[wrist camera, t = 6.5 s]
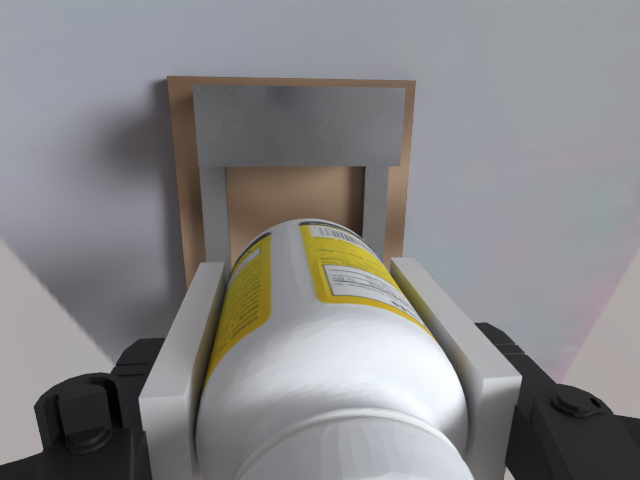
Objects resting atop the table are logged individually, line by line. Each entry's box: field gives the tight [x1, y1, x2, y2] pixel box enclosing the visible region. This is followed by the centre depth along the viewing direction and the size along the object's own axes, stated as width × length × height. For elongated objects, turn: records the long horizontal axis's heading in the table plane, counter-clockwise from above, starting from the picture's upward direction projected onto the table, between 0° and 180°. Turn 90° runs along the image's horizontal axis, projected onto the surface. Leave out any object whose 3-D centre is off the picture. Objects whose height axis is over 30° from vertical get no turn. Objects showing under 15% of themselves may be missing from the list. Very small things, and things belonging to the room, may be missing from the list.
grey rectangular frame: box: [192, 84, 406, 287], centre depth 20 cm, size 13×9×5 cm
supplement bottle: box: [195, 219, 474, 480], centre depth 10 cm, size 5×5×10 cm
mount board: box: [167, 76, 416, 291], centre depth 23 cm, size 14×12×1 cm
